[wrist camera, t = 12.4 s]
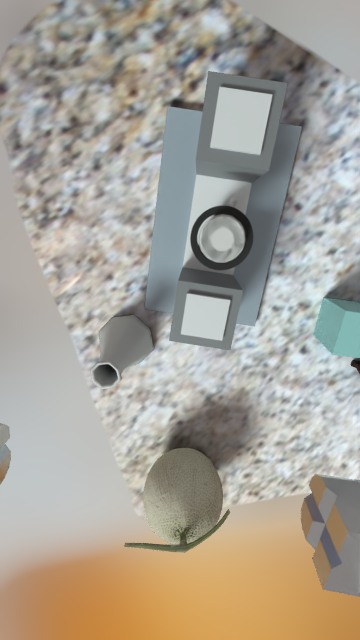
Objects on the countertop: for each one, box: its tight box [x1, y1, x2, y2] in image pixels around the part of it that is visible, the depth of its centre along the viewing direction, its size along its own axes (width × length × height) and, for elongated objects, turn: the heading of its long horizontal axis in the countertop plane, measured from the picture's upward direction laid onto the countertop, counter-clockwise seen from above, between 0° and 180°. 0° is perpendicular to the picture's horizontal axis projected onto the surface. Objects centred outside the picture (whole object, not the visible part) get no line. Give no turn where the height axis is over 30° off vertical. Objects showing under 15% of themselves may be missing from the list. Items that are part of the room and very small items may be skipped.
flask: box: [90, 315, 154, 389], centre depth 36 cm, size 7×7×10 cm
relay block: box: [313, 297, 360, 358], centre depth 36 cm, size 5×5×6 cm
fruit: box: [125, 448, 230, 552], centre depth 39 cm, size 10×12×15 cm
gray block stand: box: [144, 71, 302, 350], centre depth 31 cm, size 14×22×10 cm, turn 172°
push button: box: [190, 198, 253, 270], centre depth 30 cm, size 7×5×10 cm
